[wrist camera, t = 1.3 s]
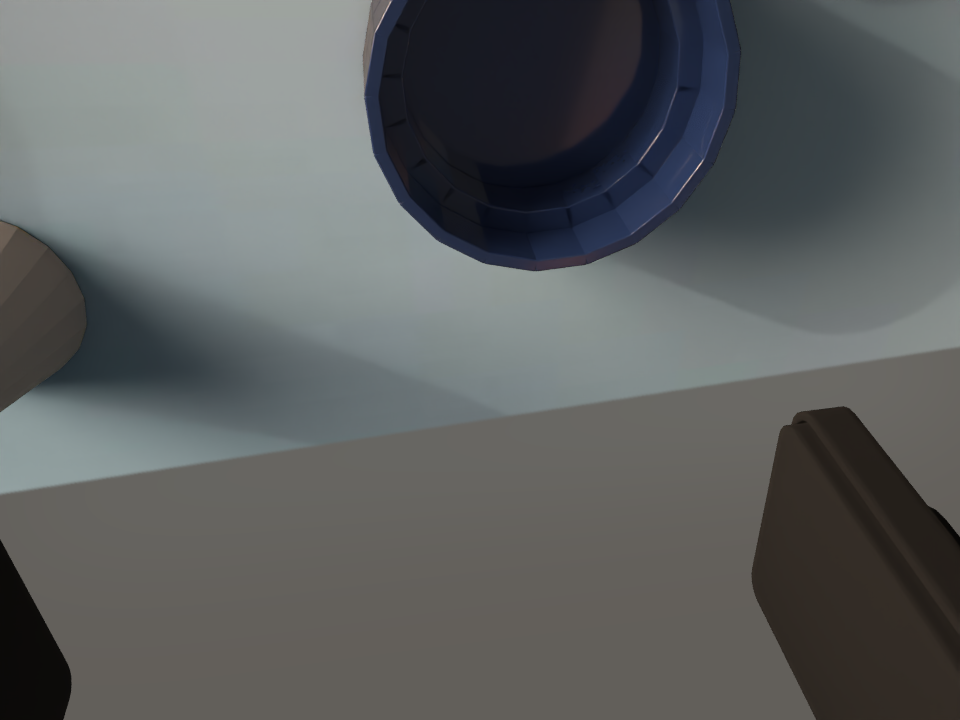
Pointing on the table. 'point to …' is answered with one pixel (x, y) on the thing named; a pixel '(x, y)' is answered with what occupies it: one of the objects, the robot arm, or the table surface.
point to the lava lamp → (34, 313)
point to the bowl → (547, 118)
